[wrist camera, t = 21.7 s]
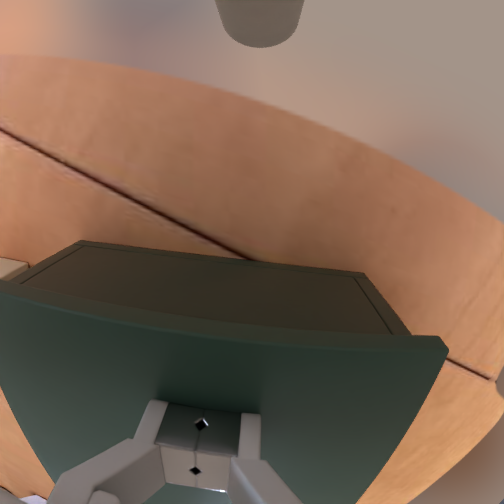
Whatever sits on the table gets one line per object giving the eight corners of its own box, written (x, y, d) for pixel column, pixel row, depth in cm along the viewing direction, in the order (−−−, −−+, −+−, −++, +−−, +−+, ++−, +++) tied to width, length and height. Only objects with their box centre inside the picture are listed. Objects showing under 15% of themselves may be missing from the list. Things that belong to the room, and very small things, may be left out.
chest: (80, 239, 15) (-6, 288, 9) (364, 272, 15) (422, 347, 9) (111, 438, 20) (81, 504, 13) (303, 466, 20) (310, 541, 13)
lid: (-20, 272, 8) (-35, 281, 7) (439, 334, 8) (451, 349, 7) (80, 505, 13) (77, 513, 12) (310, 542, 13) (311, 552, 12)
